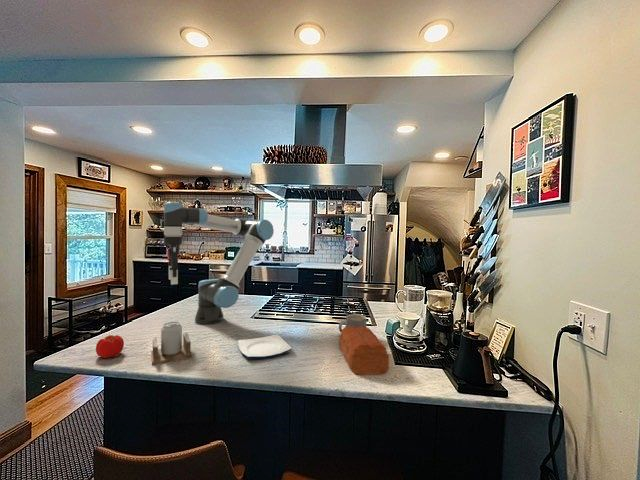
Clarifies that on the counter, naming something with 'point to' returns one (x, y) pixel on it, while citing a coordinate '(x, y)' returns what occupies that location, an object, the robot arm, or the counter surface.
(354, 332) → the bread
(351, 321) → the coffee mug
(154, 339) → the cradle holder
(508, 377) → the counter surface
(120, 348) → the tomato
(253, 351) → the plate
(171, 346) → the can
